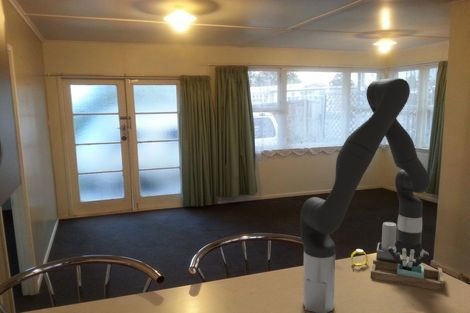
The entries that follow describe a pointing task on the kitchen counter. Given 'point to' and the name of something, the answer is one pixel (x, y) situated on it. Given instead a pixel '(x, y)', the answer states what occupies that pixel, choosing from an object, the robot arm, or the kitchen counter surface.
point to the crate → (416, 271)
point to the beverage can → (388, 235)
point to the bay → (406, 279)
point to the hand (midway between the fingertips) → (406, 275)
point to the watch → (360, 253)
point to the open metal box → (385, 255)
